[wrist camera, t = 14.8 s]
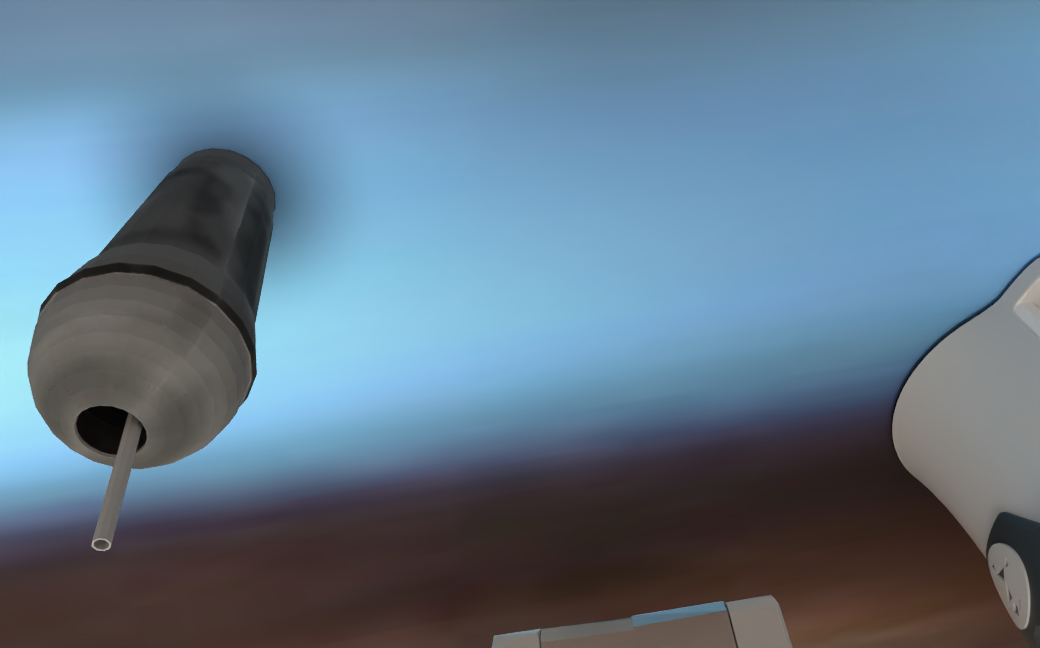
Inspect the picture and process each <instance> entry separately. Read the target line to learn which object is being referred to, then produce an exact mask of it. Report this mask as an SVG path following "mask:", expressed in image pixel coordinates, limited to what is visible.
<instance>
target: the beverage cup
mask: <svg viewBox="0 0 1040 648" xmlns="http://www.w3.org/2000/svg"><path fill="white" fill-rule="evenodd" d="M274 209H275V193H274V191H273V188H272V186H271V183H270V180H269V179H268V177H267V176H266V175H265V174H264V172H263V171H262V170H261V169H260V167H259V166H257V165H256V164H255V163H253V162H252V161H250V160H249V159H248V158H246V157H245V156H242V155H240V154H237V153H234V152H232V151H229V150H220V149H208V150H203V151H198V152H195V153H193V154H191V155H190V156H188V157H186V158H185V159H183V160H182V161H181V163H180V164H179V165H178V166H177V167H176V168H175V169H174V170H173V171H171V172H170V173H169V174H168V175H167V176H166V177H165V178H164V179H163V181H162V182H161V183H160V184H159V185H158V186H157V188H156V189H155V190H154V191H153V192H152V193H151V195H150V196H149V197H148V198H147V199H146V200H145V202H144V203H143V204H142V205H141V206H140V207H139V209H138V210H137V211H136V212H135V213H134V214H133V216H132V217H131V218H130V219H129V220H128V221H127V223H126V224H125V225H124V226H123V227H122V228H121V230H120V231H119V232H118V233H117V234H116V235H115V237H114V238H113V239H112V240H111V241H110V242H109V244H108V245H107V246H106V247H105V248H104V249H103V251H102V252H101V253H100V254H99V255H98V256H97V257H95V258H93V259H91V260H90V261H88V262H87V263H86V264H84V265H83V266H82V267H81V268H79V269H78V270H77V271H76V272H75V273H73V274H72V275H71V276H70V277H69V278H67V279H65V280H63V281H62V282H60V283H58V284H57V285H56V287H55V288H54V289H53V290H52V292H51V293H50V294H49V296H48V297H47V298H46V300H45V301H44V302H43V303H42V305H41V308H40V312H39V317H38V322H37V324H36V326H35V330H34V334H33V339H32V343H31V348H30V353H29V358H28V377H29V382H30V386H31V390H32V395H33V399H34V402H35V406H36V408H37V410H38V411H39V413H40V414H41V416H42V417H43V419H44V421H45V422H46V424H47V425H48V427H49V428H50V430H51V431H52V433H53V434H54V435H55V436H56V437H57V438H59V439H60V440H61V441H62V442H63V443H64V444H65V445H67V446H68V447H69V448H70V449H71V450H73V451H75V452H77V453H79V454H81V455H83V456H84V457H86V458H88V459H90V460H92V461H94V462H98V463H102V464H105V465H109V466H112V467H113V470H112V473H111V477H110V480H109V484H108V488H107V491H106V495H105V498H104V502H103V505H102V509H101V512H100V516H99V519H98V523H97V527H96V530H95V534H94V537H93V541H92V547H93V548H94V549H96V550H100V551H105V550H107V549H110V547H111V543H112V540H113V536H114V532H115V528H116V524H117V521H118V517H119V513H120V509H121V506H122V502H123V498H124V494H125V490H126V487H127V483H128V479H129V475H130V472H131V468H133V469H144V468H150V467H156V466H162V465H167V464H171V463H174V462H176V461H178V460H180V459H182V458H184V457H186V456H189V455H191V454H193V453H195V452H196V451H198V450H200V449H202V448H204V447H205V446H206V445H207V444H208V443H210V442H211V441H212V440H213V439H214V438H215V437H216V436H217V435H218V434H219V433H220V432H221V431H222V430H223V429H224V428H225V427H226V426H227V425H228V424H229V423H230V421H231V420H232V419H233V417H234V416H235V414H236V413H237V411H238V409H239V407H240V406H241V405H242V404H243V402H244V401H245V400H246V399H247V397H248V395H249V393H250V390H251V387H252V385H253V382H254V380H255V377H256V375H257V370H256V349H255V341H256V339H255V321H256V316H257V310H258V305H259V300H260V294H261V289H262V284H263V278H264V273H265V268H266V262H267V257H268V251H269V246H270V241H271V235H272V230H273V212H274Z"/></svg>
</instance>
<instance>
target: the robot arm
mask: <svg viewBox="0 0 1040 648" xmlns="http://www.w3.org/2000/svg"><path fill="white" fill-rule="evenodd" d="M892 435H893V442H894V446H895V450H896V452H897V455H898V457H899V459H900V461H901V462H902V464H903V465H904V466H905V468H906V469H907V470H908V471H909V472H910V473H911V474H912V475H913V476H914V477H915V478H916V479H918V480H919V481H920V482H921V483H922V484H924V485H925V486H926V487H927V488H928V489H929V490H930V491H931V492H932V493H933V494H934V495H935V496H936V497H937V498H938V499H939V500H940V501H941V502H942V503H943V504H944V506H945V507H946V508H947V509H948V510H949V511H950V512H951V514H952V515H953V516H954V517H955V518H956V520H957V521H958V522H959V523H960V524H961V526H962V527H963V528H964V529H965V531H966V532H967V533H968V535H969V536H970V537H971V539H972V540H973V541H974V542H975V544H976V545H977V547H978V548H979V549H980V551H981V552H982V554H983V555H984V556H985V558H986V560H987V566H988V569H989V571H990V574H991V576H992V579H993V581H994V584H995V586H996V589H997V591H998V593H999V595H1000V597H1001V599H1002V601H1003V603H1004V605H1005V607H1006V609H1007V611H1008V613H1009V615H1010V616H1011V618H1012V620H1013V621H1014V623H1015V624H1016V626H1017V627H1018V628H1019V629H1020V630H1021V632H1022V634H1023V636H1024V637H1025V639H1026V641H1027V643H1028V644H1029V646H1030V647H1031V648H1040V257H1039V258H1038V259H1036V260H1035V261H1034V262H1033V263H1031V264H1030V265H1029V266H1028V267H1027V268H1026V269H1025V270H1024V271H1023V272H1022V273H1021V274H1020V275H1019V276H1018V277H1017V279H1016V280H1015V281H1014V282H1013V283H1012V284H1011V286H1010V287H1009V288H1008V289H1007V290H1006V292H1005V293H1004V294H1003V295H1002V297H1001V298H1000V299H999V300H998V301H997V302H996V303H994V304H993V305H992V306H991V307H989V308H988V309H987V310H985V311H984V312H982V313H981V314H979V315H978V316H976V317H975V318H973V319H972V320H970V321H969V322H967V323H966V324H964V325H962V326H961V327H960V328H958V329H957V330H955V331H954V332H953V333H951V334H950V335H949V336H948V337H946V338H945V339H944V340H943V341H942V342H940V343H939V344H938V345H937V346H936V347H935V348H934V349H933V350H932V351H931V352H930V353H929V354H928V355H927V356H926V357H925V358H924V359H923V360H922V362H921V363H920V364H919V365H918V366H917V368H916V369H915V370H914V372H913V373H912V375H911V376H910V378H909V379H908V381H907V382H906V384H905V386H904V388H903V390H902V392H901V394H900V396H899V399H898V401H897V404H896V408H895V411H894V416H893V424H892ZM492 648H792V645H791V641H790V638H789V635H788V632H787V629H786V626H785V622H784V619H783V616H782V613H781V610H780V607H779V604H778V603H777V602H776V600H775V599H774V598H773V596H772V595H767V596H762V597H756V598H750V599H744V600H738V601H732V602H726V603H725V604H724V603H723V601H721V602H715V603H709V604H703V605H696V606H690V607H684V608H678V609H672V610H666V611H660V612H654V613H648V614H641V615H635V616H632V618H625V619H617V620H610V621H602V622H594V623H587V624H579V625H571V626H563V627H556V628H548V629H537V630H530V631H524V632H517V633H510V634H503V635H496V636H494V639H493V644H492Z"/></svg>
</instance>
